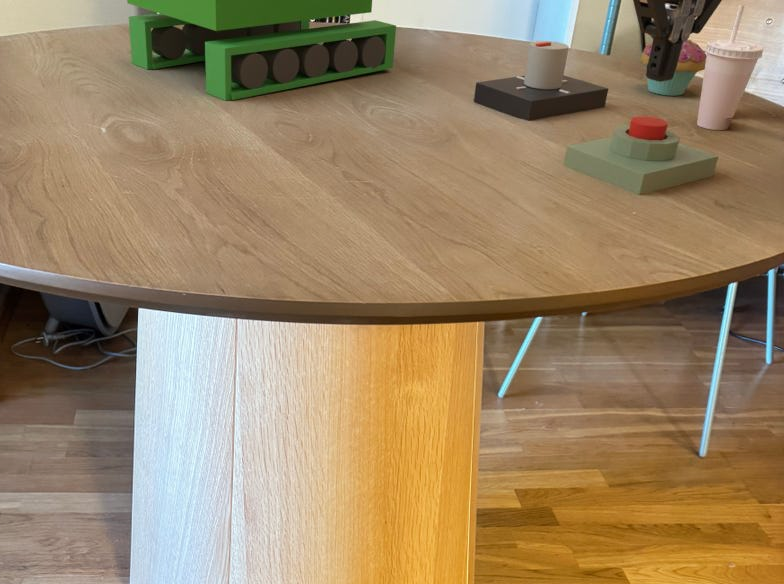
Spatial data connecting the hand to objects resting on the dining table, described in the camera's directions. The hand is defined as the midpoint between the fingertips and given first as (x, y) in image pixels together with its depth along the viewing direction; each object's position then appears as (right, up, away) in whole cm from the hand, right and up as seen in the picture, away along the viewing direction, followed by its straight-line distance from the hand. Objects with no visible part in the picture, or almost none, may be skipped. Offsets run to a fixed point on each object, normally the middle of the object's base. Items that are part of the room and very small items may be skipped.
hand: (658, 79), depth 88 cm
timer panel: (-5, +6, +27) cm, 28 cm away
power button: (0, -5, +3) cm, 6 cm away
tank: (-40, +15, +41) cm, 59 cm away
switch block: (0, -8, +5) cm, 10 cm away
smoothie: (+15, +1, +21) cm, 26 cm away
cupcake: (+15, +10, +36) cm, 40 cm away
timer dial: (-5, +8, +26) cm, 27 cm away
